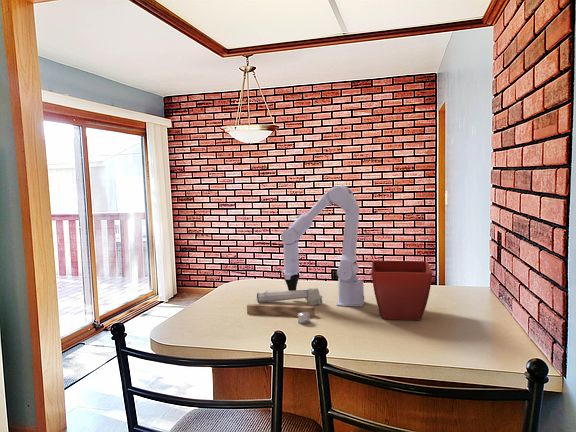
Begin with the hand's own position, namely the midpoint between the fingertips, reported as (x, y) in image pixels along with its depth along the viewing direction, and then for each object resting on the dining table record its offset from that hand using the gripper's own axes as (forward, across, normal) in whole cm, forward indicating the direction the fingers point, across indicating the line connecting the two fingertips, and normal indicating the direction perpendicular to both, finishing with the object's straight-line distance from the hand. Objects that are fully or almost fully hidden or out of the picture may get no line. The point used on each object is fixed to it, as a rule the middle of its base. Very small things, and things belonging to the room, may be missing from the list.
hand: (292, 293), depth 178 cm
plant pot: (+3, +13, +41) cm, 43 cm away
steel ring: (+2, +26, +10) cm, 28 cm away
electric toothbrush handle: (+3, +4, 0) cm, 5 cm away
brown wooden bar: (+2, +19, 0) cm, 19 cm away
